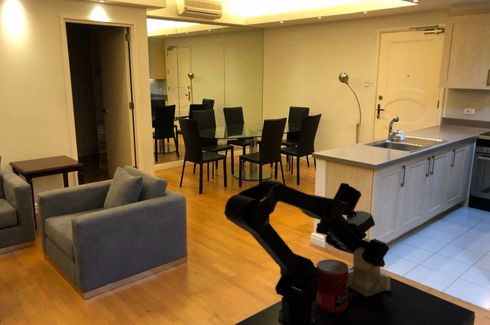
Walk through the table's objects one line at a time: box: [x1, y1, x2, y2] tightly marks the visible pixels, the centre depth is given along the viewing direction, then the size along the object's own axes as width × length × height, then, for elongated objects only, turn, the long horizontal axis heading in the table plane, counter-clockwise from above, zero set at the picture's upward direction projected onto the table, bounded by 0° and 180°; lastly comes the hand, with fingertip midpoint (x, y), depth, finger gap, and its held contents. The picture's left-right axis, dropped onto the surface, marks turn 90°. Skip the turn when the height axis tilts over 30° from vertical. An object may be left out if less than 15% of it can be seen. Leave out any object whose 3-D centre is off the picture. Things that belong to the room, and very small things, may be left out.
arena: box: [348, 268, 391, 298], centre depth 111 cm, size 13×9×4 cm
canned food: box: [316, 258, 349, 314], centre depth 102 cm, size 8×8×11 cm
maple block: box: [352, 237, 381, 293], centre depth 111 cm, size 5×5×13 cm
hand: (370, 259), depth 111 cm, fingers open, 9 cm apart
